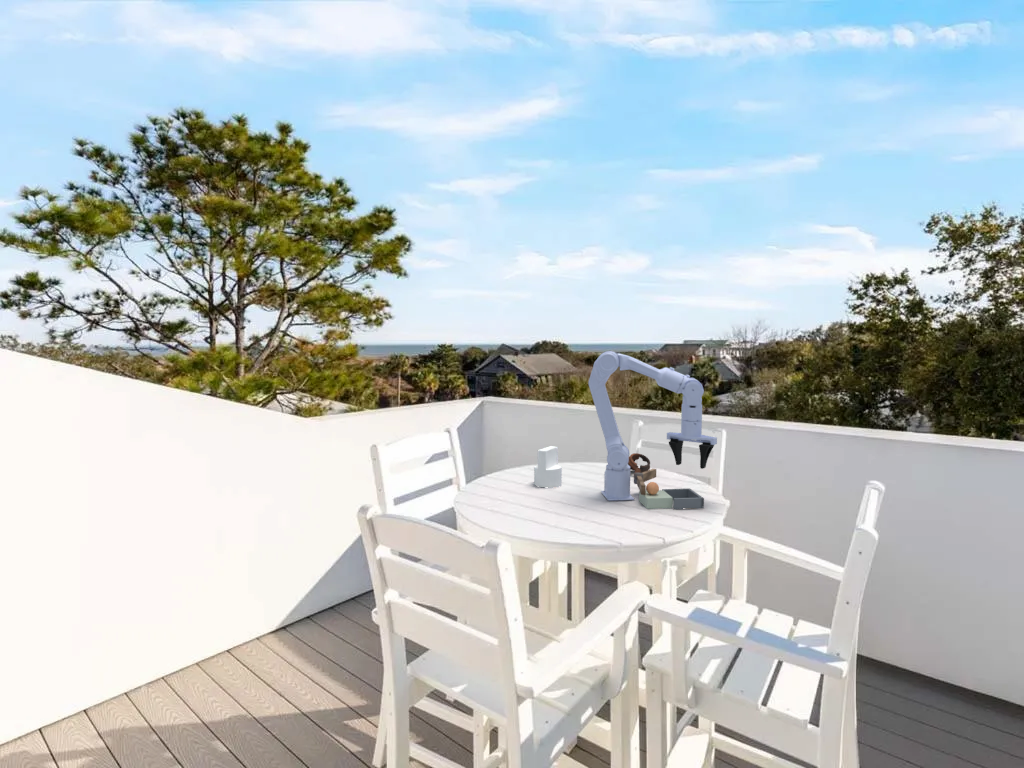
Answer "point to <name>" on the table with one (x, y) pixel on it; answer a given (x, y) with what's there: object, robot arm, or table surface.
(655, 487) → the ball
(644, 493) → the flipper lever
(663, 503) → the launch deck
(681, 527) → the table surface
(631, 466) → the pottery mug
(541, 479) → the base with upright slab
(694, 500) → the tray
